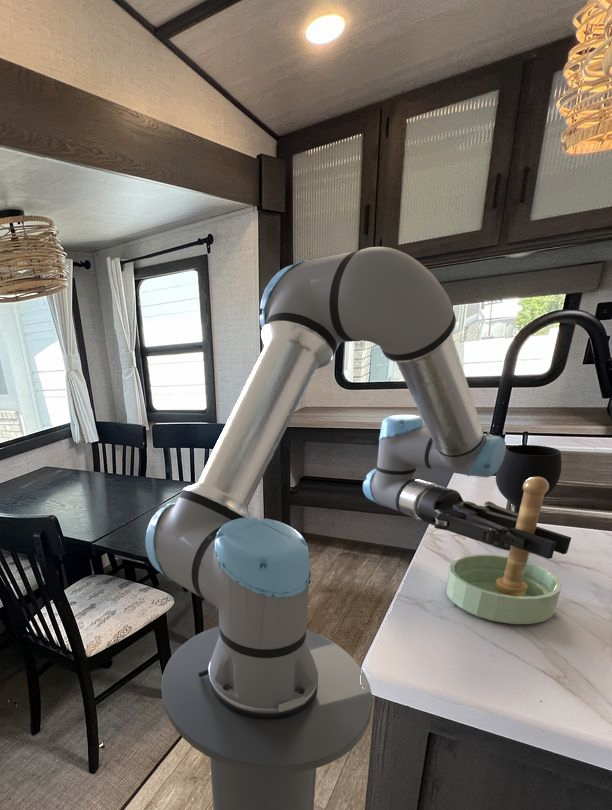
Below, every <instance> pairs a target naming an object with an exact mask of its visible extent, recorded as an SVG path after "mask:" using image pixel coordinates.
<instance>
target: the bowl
mask: <svg viewBox="0 0 612 810" xmlns="http://www.w3.org/2000/svg"><path fill="white" fill-rule="evenodd" d="M507 560H508V556H507V555H499V554H488V553H486V554H485V553H484V554H482V553H481V554H480V553H479V554H476V553H475V554H469V555H463V556H460V557H458V558H455V559H454V560H452V562H451V563H450V564H449V567H448V574H447V579H446V585H445V593H446V596H447V597H448V598H449V600H450V601H451V602H452V603H453V604H454V605H456V606H457V607H459V608H460V609H462V610H463V611H466V612H467V613H469V614H471V615H473V616H476V617H477V618H481V619H484V620H487V621H491V622H495V623H501V624H509V625H531V624H537V623H543V622H545V621H547V620H549V619H551V618H552V617H553V615H554V613H555V610H556V607H557V604H558V601H559V597H560V594H561V591H562V587H563V585H562V582H561V581H560V579H559V577H558V576H557V575H556V574H554V573H553V572H551V571H550V570H549V569H547V568H545V567H542V566H541V565H539V564H536V563H533V562H530V561H528V560H527V564H526V568H525V572H524V576H523V579H522V581H523V582H525V583H526V584H527V586H528V587H527V591H526V593H525V594H524V595H522V596H511V595H507V594H504V593H501V592H499V591H498V590H496V589H495V583H496V580H497V579H498V578H501V577H504V573H505V569H506V564H507Z"/></svg>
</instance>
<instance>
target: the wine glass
mask: <svg viewBox="0 0 612 810" xmlns="http://www.w3.org/2000/svg"><path fill="white" fill-rule="evenodd" d="M562 461H563V460H562V453H561V451H560V449H557V448H555V447H550V446H546V445H537V444H536V445H535V444H517V445H511V446H508V447H506V451H505V456H504V459H503V462H502V464H501V466H500V468H499V469H498V471H497V472H496V473H495V485H496V487H497V489H498V492H500V494H501V495H502V496H503V497H504V498H505V499H506V500H507V501H508V502H509V503H511V504H512V505H513V507H514V512H516V513H519V510H520V506H521V502H522V498H523V494H524V491H523V484H524V482H525V481H526V480H527V479H529V478H531V477H542V478H544V479H546V480H547V482H548V484H549V489H548V491H547V492H546V493H545V495H544V498H546V497H547V496H548V495H549V494H551V493H552V492H553V491H554V489H555V488H556V487H557V485H558V482H559V480H560V477H561V474H562V466H563V465H562V463H563V462H562ZM490 546H494V547H497V542H495V541H494V542H493V544H490ZM497 548H498V547H497ZM510 548H511V545H509V544H507V543H505V545H504V547H503V548H502V549H504V550H507V551H508V550H509V551H510Z"/></svg>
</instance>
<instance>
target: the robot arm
mask: <svg viewBox="0 0 612 810" xmlns="http://www.w3.org/2000/svg"><path fill="white" fill-rule="evenodd" d="M259 308H260V310H262V311H261V314H259V322H260V326H261V327H260V328H261V330H260V331H261V332H260V338H261V341H262V344H263V348H262V351H261V353H260V355H259V356H258V359H257V361H256V363H255V365H254V367H253V369H252V371H251V373H250V375H249V377H248V379H247V381H246V383H245V385H244V387H243V389H242V391H241V393H240V395H239V397H238V399H237V401H236V403H235V406H234V407H233V409H232V411H231V414H230V415H229V418H228V419H227V422H226V423H225V426H224V428H223V429H222V432H221V434H220V435H219V438H218V440H217V441H216V443H215V446H214V447H213V450H212V452H211V454H210V456H209V457H208V460H207V462H206V464H205V466H204V468H203V470H202V471H201V474H200V476H199V479H198V480H197V482H195V483H194V484H192V485H187V486H185V487H183V489H182V490H181V492H180V494H179V497H178V499H177V501H176V502H173V503H172V502H171V503H168V504H165V506H164V507H160V508H159V509H158V510H157V511H156V512H155V514H154V515H153V516H152V517H151V519H150V521H149V523H148V525H147V529H146V534H145V550H146V553H147V556H148V557H147V558H148V560H149V562H150V564H151V566H153V568H154V569H155V570H156V571H158V572H159V573H161V575H163V576H164V577H165V578H166V579H167V580H168V581H170V582H173V583H175V584H178V585H179V586H181V587H183V588H185V589H186V590H188V591H190V592H191V593H193V594H195V595H196V596H198V597H200V598H202V599H203V600H205V601H206V602H208V603H209V604H211V605H212V606H215V608H216V609H217V610H218V626H219V628H220V635H219V638H218V641H217V644H216V647H215V650H214V652H213V655H212V658H211V661H210V664H209V668H208V669H206V670H203V671H201V672H198V675H199V677H202V676H205V675H207V674H209V683H210V687H211V690H212V692H213V694H214V695H215V697H216V698H217V699H218V700H219V701H220V702H221V703H222V704H223V705H224V706H226V707H227V708H228V709H230V710H232V711H234V712H236V713H238V714H241V715H243V716H247V717H251V718H256V719H267V720H271V719H281V718H286V717H289V716H293V715H295V714H297V713H299V712H301V711H303V710H304V709H305V708H307V707H308V706H309V705H310V704H311V703H312V701H313V700H314V698H315V696H316V693H317V686H318V671H317V668H316V665H315V663H314V660H313V657H312V654H311V651H310V648H309V646H308V643H307V640H306V630H307V627H308V626H307V623H308V607H309V592H310V590H309V588H310V581H311V576H312V575H311V574H312V572H311V565H310V551H309V548H308V543H307V542H306V540H305V538H304V537H303V535H302V534H301V533H300V532H299V531H297V530H296V529H294V527H292V526H290V525H288V524H286V523H284V522H282V521H279V520H274V519H271V518H263V519H260V518H258V517H255V516H254V517H253V516H252V517H251V516H250V515H251V514H250V513H249V505H250V503H251V501H252V500H253V499H252V498H253V497H254V496H255V492H256V491H257V489H258V487H259V484H260V483H261V481H262V479H263V477H264V475H265V473H266V470H267V469H268V467H269V465H270V463H271V460H272V458H273V456H274V455H275V453H276V450H277V449H278V447H279V445H280V442H281V441H282V438H283V436H284V434H285V432H286V431H287V428H288V427H289V424H290V422H291V420H292V418H293V416H294V414H295V412H296V410H297V408H298V406H299V403H300V402H301V399H302V398H303V395H304V393H305V392H306V390H307V388H308V386H309V383H310V381H311V379H312V378H313V375H314V373H315V371H316V370H318V369H322V368H324V367H326V366H328V365H329V364H330V363H331V362H332V360H333V358H334V356H335V354H336V353H337V350H338V348H339V346H340V344H342V343H344V342H345V343H347V342H349V343H351V342H361V341H363V342H369V343H373V344H375V345H376V346H379V348H380V349H381V352H382V354H383V355H384V357H385V358H386V359H388V360H390V361H391V362H395V363H396V365H397V368H398V369H399V371H400V373H401V377H402V378H403V380H404V382H405V384H406V387H407V388H408V390H409V391H408V392H409V393H410V395H411V397H412V400H413V402H414V404H415V405H416V408H417V409H418V412H419V414H420V416H418V415H415V414H395V415H390V416H387V417H385V418H384V419H383V420H382V421H381V427H380V433H379V437H378V441H379V442H378V452H377V462H376V467H375V468H374V469H372V470H371V471H369V472H368V473H367V475H366V477H365V479H364V480H363V483H362V491H363V494H364V496H365V497H366V498H367V499H368V500H370V501H372V502H374V503H376V504H377V505H379V506H382V507H386V508H389V509H392V510H394V511H397V512H399V513H402V514H403V515H406V516H410V517H412V518H413V519H414V520H420V521H422V522H423V523H427V524H429V525H431V526H434V528H435V529H437V530H443V531H448V532H451V533H453V534H456V535H460V536H463V537H464V538H469V539H471V540H474V541H477V542H480V543H484V544H486V545H491V544H493V542H494V541H495V542H497V548H500V549H504V548H503V547H504V545H505V543H507V544H509V545H512V546H515V547H517V548H520V549H523V550H525V551H528V552H529V553H531V554H533V555H535V556H539V557H540V558H544V559H547V560H550V559H553V555H554V552H556V553H558V554H561V555H566V554H568V552H569V547H570V544H571V541H572V537H571V536H567V535H565V534H563V533H558V532H556V531H552V530H551V529H550V530H549V529H546V528H543V527H540V526H537V525H536V529H535V533H534V534H531V533H528V532H525V531H522V530H519V529H516V528H515V527H516V523H517V519H518V514H519V513H516V512H515V511H513V510H511V509H508V508H505V507H502V506H499V505H498V504H496V503H494V502H493V501H490V500H489V501H485V502H484V505H478V504H476V503H475V502H473V501H467V500H465V501H464V499H463V498H462V495H461V494H460V492H459V491H457V490H455V489H453V488H450V487H445V486H442V485H439V484H437V483H434V482H430V481H426V480H424V479H420V478H416V476H415V475H416V471H417V467H419V468H424V469H430V470H437V471H441V472H447V473H453V474H459V475H464V476H466V477H478V478H491V477H492V476H494V475H496V472H497V471H498V469H499V468H500V466H501V464H502V462H503V459H504V456H505V451H506V448H507V444H506V441H505V439H504V438H503V437H502V436H499V435H493V434H491V433H489V434H485V432H484V429H483V427H482V424H481V420H480V417H479V415H478V411H477V408H476V406H475V402H474V399H473V396H472V393H471V390H470V386H469V383H468V380H467V378H466V375H465V371H464V368H463V366H462V365H463V364H462V363H461V360H460V357H459V353H458V350H457V346H456V344H455V341H454V338H453V334H454V332H455V329H456V325H457V317H456V314H455V311H454V308H453V305H452V301H451V300H450V297H449V295H448V293H446V290H445V289H444V287H443V286H442V285H441V284H440V282H439V281H438V279H437V278H436V277H435V275H434V274H433V273H432V272H431V271H430V270H429V269H428V268H427V267H425V266H424V265H423V264H422V263H421V262H419V260H417V259H415V258H414V257H412V256H410V255H409V254H407V253H405V252H403V251H401V250H399V249H395V248H392V247H386V246H372V247H371V246H370V247H366V248H362V249H360V250H355V251H350V252H344V253H340V254H334V255H329V256H324V257H319V258H314V259H312V258H309V259H304V260H300V261H298V262H296V263H294V264H290V265H287V266H285V267H283V268H282V269H280V270H279V271H278V272H277V273H276V274H274V275H273V277H272V278H271V279H270V281H269V282H268V284H267V285H266V287H265V289H264V291H263V294H262V297H261V301H260V307H259ZM423 422H424V424H423ZM424 425H425V427H424Z"/></svg>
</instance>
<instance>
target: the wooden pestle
mask: <svg viewBox="0 0 612 810" xmlns="http://www.w3.org/2000/svg"><path fill="white" fill-rule="evenodd" d="M548 489H549V484H548V482H547V480H546V479H544V478H542V477H531V478H529V479H527V480H526V481H525V482H524V484H523V491H524V494H523V498H522V502H521V506H520V510H519V514H518V519H517V523H516V527H515V528H516V529H519V530H522V531H525V532H528V533H531V534H534V533H535V529H536V526H537V525H538V522H539V518H540V514H541V510H542V506H543V502H544V499H545V497H544V495H545V493H546V492H547V491H548ZM529 555H530V552H528V551H525V550H523V549H520V548H517V547H515V546H512V545H511V548H510V550H509V552H508V556H507V557H508V560H507V564H506V569H505V573H504V577H501V578H498V579H497V580H496V583H495V589H496V590H498V591H499V592H501V593H504V594H507V595H511V596H522V595H524V594H525V593H526V591H527V587H528V586H527V584H526V583H525V582H523V581H522V579H523V576H524V572H525V568H526V564H527V561H528V560H529Z"/></svg>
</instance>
